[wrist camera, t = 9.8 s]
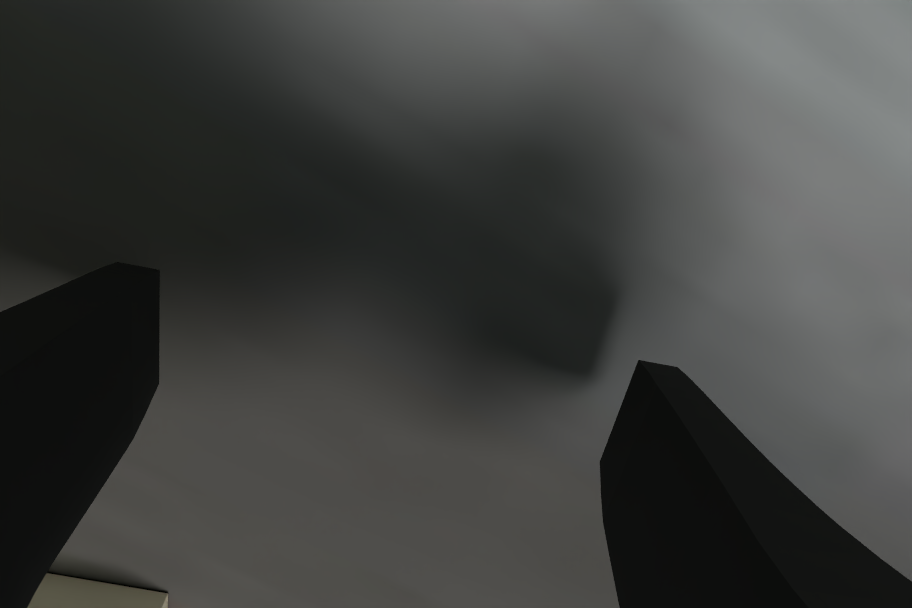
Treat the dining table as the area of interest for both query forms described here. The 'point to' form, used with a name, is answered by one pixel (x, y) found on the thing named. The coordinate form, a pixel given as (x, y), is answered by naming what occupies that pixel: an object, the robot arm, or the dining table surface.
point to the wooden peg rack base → (92, 595)
